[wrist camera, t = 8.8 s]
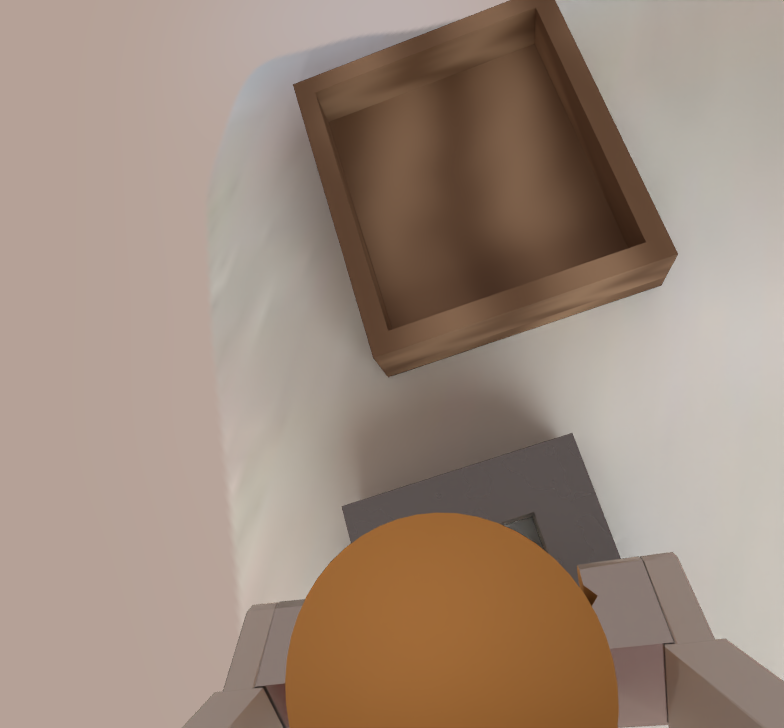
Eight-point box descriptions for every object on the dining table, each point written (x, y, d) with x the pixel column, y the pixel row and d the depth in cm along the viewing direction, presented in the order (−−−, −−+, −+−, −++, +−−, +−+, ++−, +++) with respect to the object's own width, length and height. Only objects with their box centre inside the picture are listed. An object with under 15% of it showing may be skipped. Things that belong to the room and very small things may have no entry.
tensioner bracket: (565, 447, 30) (572, 433, 26) (652, 675, 27) (673, 696, 23) (363, 511, 31) (341, 506, 27) (424, 739, 28) (408, 769, 24)
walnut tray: (545, 37, 36) (547, -15, 33) (661, 285, 31) (677, 254, 28) (312, 125, 38) (293, 84, 34) (388, 377, 33) (373, 357, 29)
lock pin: (535, 513, 20) (545, 471, 8) (584, 652, 18) (677, 831, 7) (409, 552, 20) (255, 563, 9) (449, 690, 19) (329, 918, 7)
